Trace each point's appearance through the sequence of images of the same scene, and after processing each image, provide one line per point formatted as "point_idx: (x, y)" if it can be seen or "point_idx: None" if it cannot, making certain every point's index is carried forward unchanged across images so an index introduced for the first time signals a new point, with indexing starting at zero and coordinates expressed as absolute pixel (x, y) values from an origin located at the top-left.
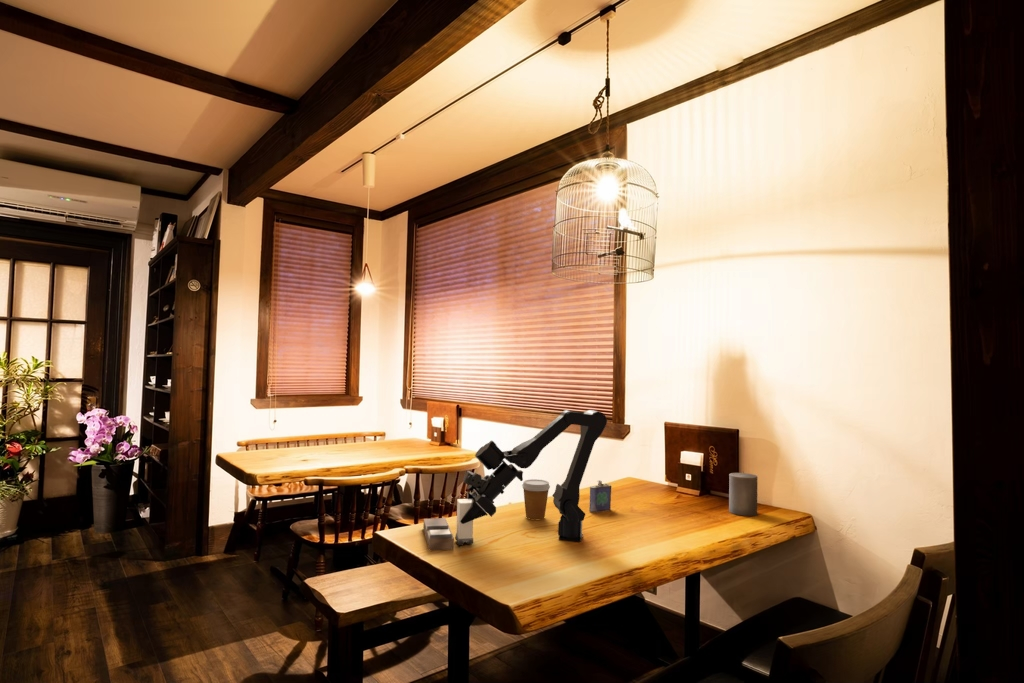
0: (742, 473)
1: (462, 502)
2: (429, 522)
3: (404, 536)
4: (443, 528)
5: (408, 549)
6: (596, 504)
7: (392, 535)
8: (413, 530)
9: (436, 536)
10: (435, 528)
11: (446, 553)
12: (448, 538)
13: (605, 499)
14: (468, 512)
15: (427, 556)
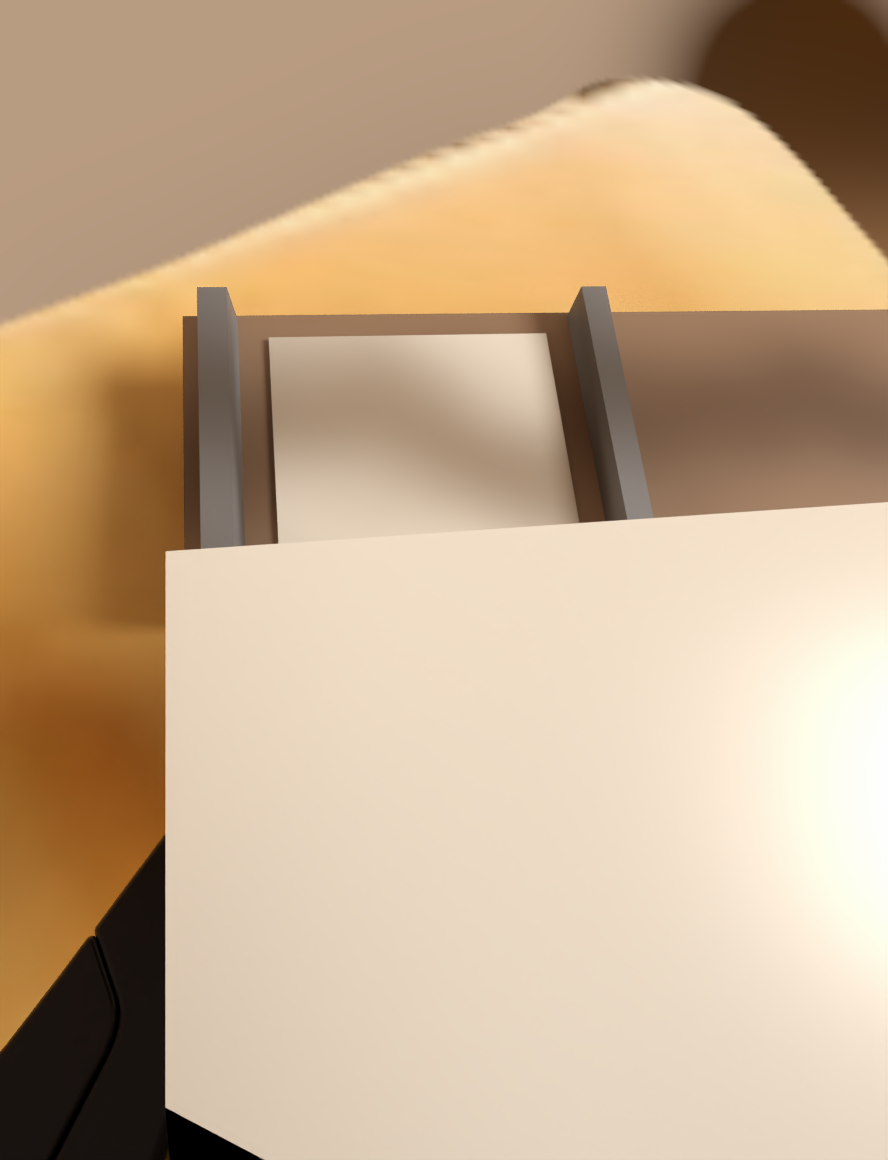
0: None
1: (402, 737)
2: (837, 356)
3: (633, 220)
4: (604, 489)
5: (279, 229)
6: None
7: (653, 142)
8: (801, 294)
9: (201, 375)
10: (586, 395)
11: (104, 549)
12: (195, 533)
13: None
14: (81, 972)
15: (46, 368)
